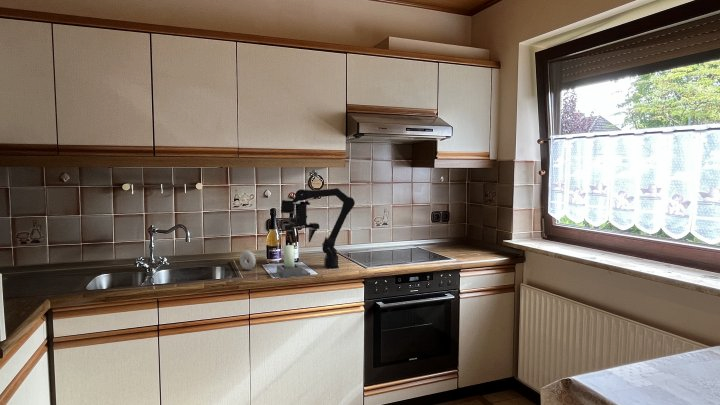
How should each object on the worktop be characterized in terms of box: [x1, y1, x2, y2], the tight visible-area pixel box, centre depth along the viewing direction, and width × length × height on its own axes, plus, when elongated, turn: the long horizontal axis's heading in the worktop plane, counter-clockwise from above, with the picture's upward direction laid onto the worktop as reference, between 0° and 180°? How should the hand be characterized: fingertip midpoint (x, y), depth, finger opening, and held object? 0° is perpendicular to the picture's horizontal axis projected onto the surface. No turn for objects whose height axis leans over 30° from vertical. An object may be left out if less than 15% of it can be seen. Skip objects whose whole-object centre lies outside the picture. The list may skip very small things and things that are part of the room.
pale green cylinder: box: [283, 244, 296, 269], centre depth 221 cm, size 5×5×13 cm
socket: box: [275, 263, 311, 279], centre depth 223 cm, size 14×11×4 cm
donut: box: [239, 250, 257, 271], centre depth 229 cm, size 10×4×10 cm, turn 58°
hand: (300, 242), depth 236 cm, fingers open, 9 cm apart
